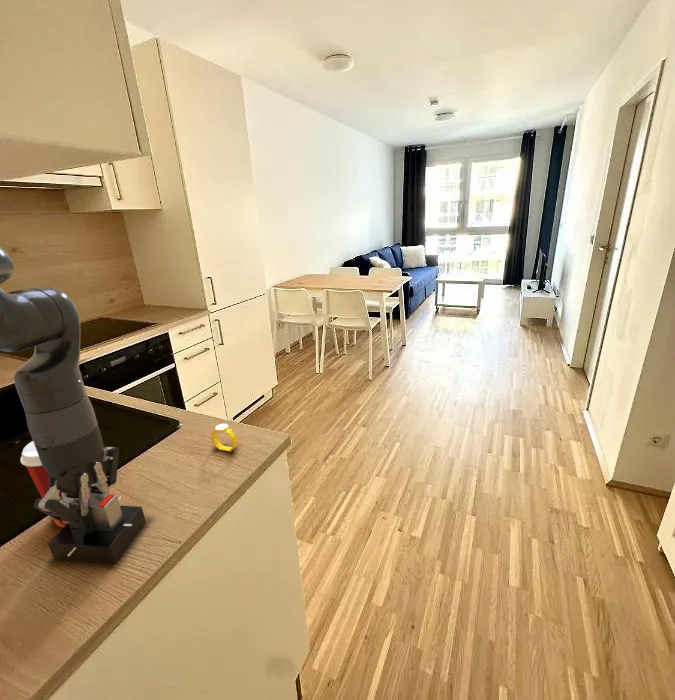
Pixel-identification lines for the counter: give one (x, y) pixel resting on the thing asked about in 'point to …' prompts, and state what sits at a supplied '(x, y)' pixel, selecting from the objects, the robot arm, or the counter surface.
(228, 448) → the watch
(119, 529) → the black square block
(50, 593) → the counter surface
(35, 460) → the coffee cup
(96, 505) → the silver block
